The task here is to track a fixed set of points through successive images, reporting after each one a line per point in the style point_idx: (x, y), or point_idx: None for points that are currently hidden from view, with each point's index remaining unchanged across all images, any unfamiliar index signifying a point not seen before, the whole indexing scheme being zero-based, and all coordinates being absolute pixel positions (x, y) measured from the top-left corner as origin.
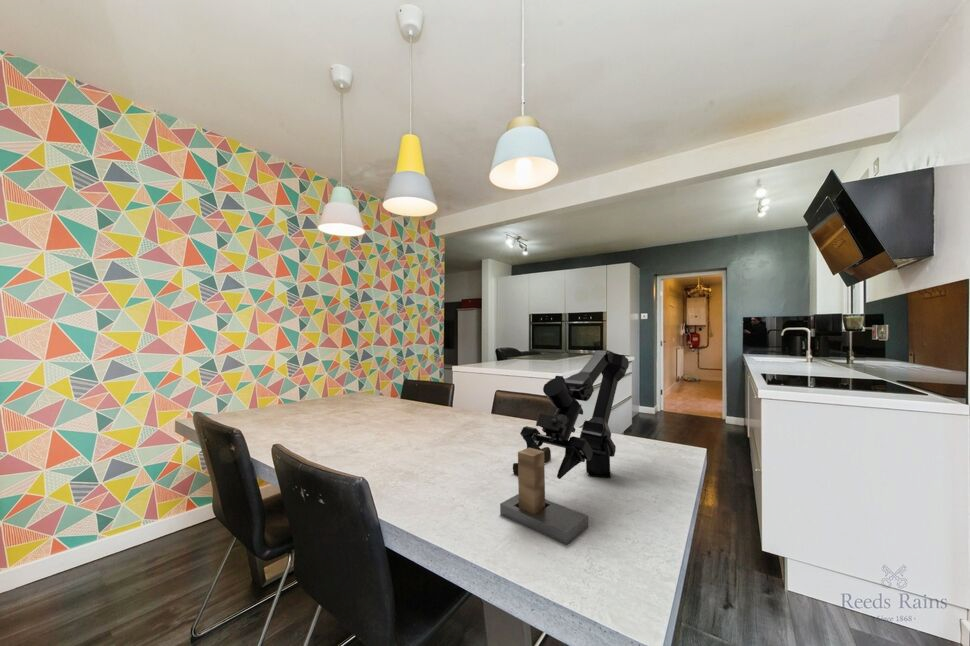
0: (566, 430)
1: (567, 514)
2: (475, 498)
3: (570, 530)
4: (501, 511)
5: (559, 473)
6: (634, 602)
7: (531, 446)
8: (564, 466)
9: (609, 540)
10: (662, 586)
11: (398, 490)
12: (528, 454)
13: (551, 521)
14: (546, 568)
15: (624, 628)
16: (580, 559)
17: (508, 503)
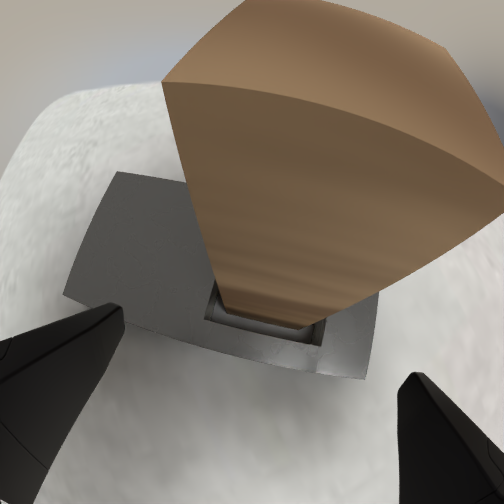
0: None
1: (122, 269)
2: (466, 295)
3: (108, 190)
4: None
5: (93, 309)
6: (46, 130)
7: (499, 492)
8: (32, 333)
9: (41, 261)
10: (6, 177)
11: None
12: (328, 5)
13: (166, 199)
14: (162, 114)
15: (69, 96)
16: (100, 163)
17: None
